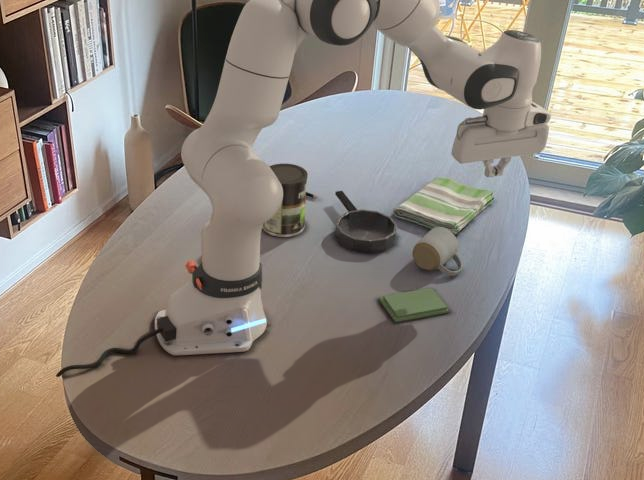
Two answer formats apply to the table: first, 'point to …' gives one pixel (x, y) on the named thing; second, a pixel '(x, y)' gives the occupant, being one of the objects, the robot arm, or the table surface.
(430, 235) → the ceramic mug
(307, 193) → the fountain pen
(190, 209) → the table surface
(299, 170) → the coffee can
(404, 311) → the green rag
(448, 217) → the dish towel
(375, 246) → the steel pan
